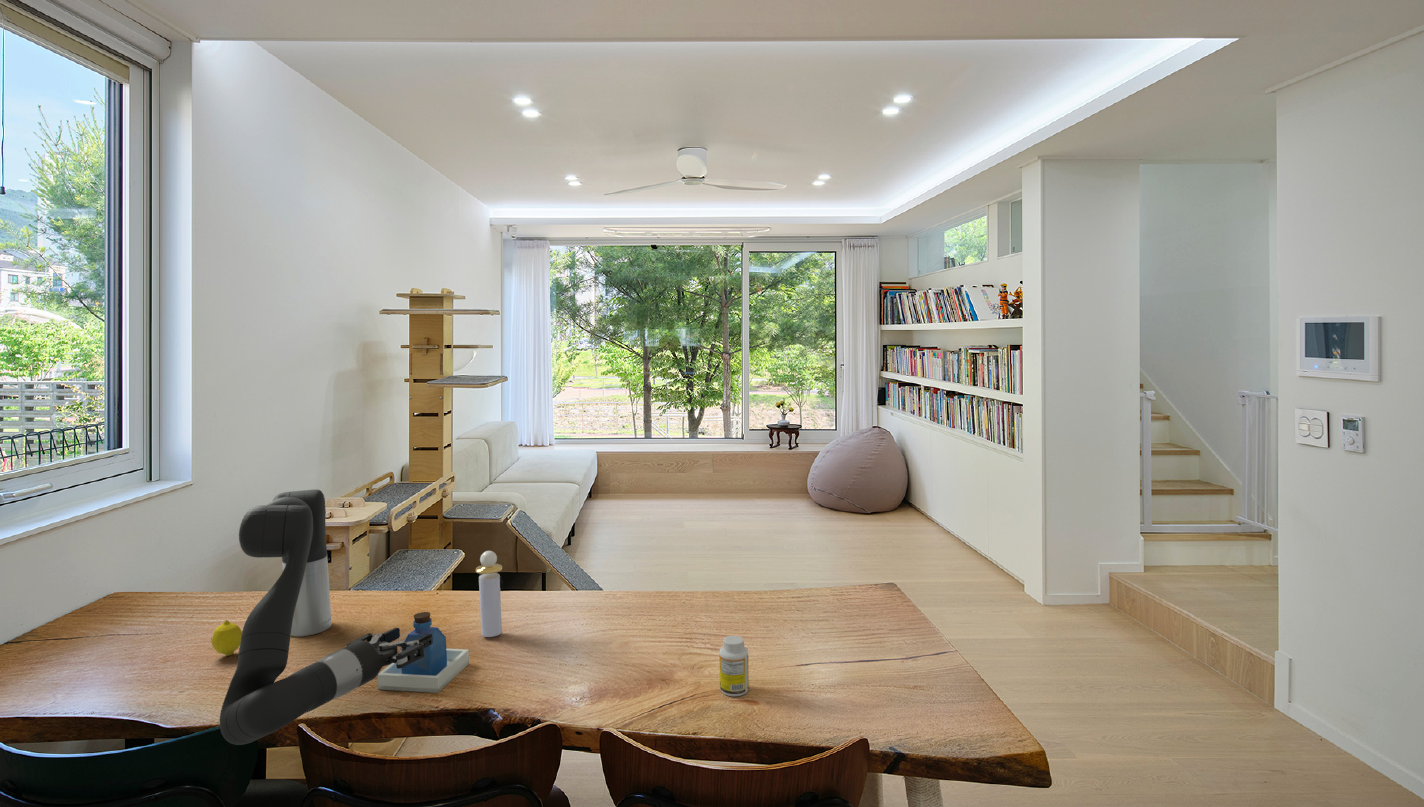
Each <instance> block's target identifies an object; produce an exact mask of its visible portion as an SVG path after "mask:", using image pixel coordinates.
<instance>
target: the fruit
mask: <svg viewBox="0 0 1424 807" xmlns="http://www.w3.org/2000/svg"><path fill="white" fill-rule="evenodd" d="M242 631H243V630H242V629H241V628H240V626H239V625H238V624H237V623H235V622H234V623H233V622H230V621H229V620H227V619H226V620H224V621H223V623H221V624H220V625H218V626H217V627H216V628H214V630H213V633H212V636H211V645H212V647H213V649H214V651H216V652H217V653H219V654H222V655H225V656H232V655H233V654H234V653H235V651H236V650H238V648H240V642H241V636H242Z"/></svg>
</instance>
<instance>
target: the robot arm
mask: <svg viewBox="0 0 1424 807" xmlns="http://www.w3.org/2000/svg"><path fill="white" fill-rule="evenodd" d="M326 528H327V527H326V499H325V495H324V493H323V491H322V490H320V489H307V490H293V491H285V492H284V491H283V492H281V493H279V494H277V495H275V496H274V498H273V500H272V501H270V502H269V503H268V504H264V505H255V506H252V507H251V508H249V510H247V512H246V513H245V514H244V515H243V518H242V519H241V522H240V526H239V529H238V540H239V546H240V548H241V550H242V552H243V553H244V554H245V555H247V556H248V557H251V558H258V559H259V558H261V559H262V558H281V563H282V573H281V574H280V576H279V577H278V579H277V580H276V581H275V583H274V584H273V586H271V587H270V588H269V590H268V592H266V594H264V596H263V597H262V598H261V599H260V600H259V602H257V604H256V605H255V606H254V607H253V609H252V610H251V611H250V613H249V614H248V616H247V618H246V621H245V622H244V624H243V628H242V630H241V631H242V636H241V642H240V646H239V647H238V648H239V649H238V650H239V651H238V656H237V664H236V669H235V672H234V673H233V676H232V678H231V680H230V684H229V685H228V688H227V692H226V694H225V697H224V699H223V702H222V706H221V710H220V714H219V728H220V733H221V735H222V737H223V739H224V740H225V741H227V743H229V744H232V745H236V746H242V745H243V746H244V745H247V744H250V743H253V742H256V741H257V740H259V739H261V738H264V737H267V736H268V735H271V734H273V733H275V732H277V731H279V730H280V729H282V728H284V727H285V726H287V725H289V724H291V723H292V722H294V721H296V720H297V719H298V718H300V717H301V716H303V715H304V714H307V713H309V712H311V711H314V710H316V709H318V708H319V707H321V706H323V705H325V704H327V703H329V702H331V701H332V700H335V699H337V698H338V699H339V698H340V697H343V696H345V695H347V694H349V693H350V692H353V691H354V690H356V689H358V688H360V687H362V686H364V685H366V684H367V683H368V682H370V681H372V680H374V679H376V678H377V675H378V674H379V673H380V672H381V671H382V670H381V669H383V667H387V666H389V665H390V664H392V663H395V664H396V667H397V669H400V668H403V667H405V666H407V665H409V664H411V663H413V662H415V661H417V660H419V659H421V658H423V657H424V649H425V648H426V647H428V646H430V645H432V644H433V636H432V634H426V635H424V636H422V637H420V638H418V639H416V640H415V641H410V642H405V640H400V641H399V638H400V637H401V629H400V627H397V626H396V627H393V628H391V629H389V630H387V631H384V632H383V633H381V632H380V633H379V632H378V633H376V634H375V635H373V633H371V632H368V633H366V634H364V635H362V636H360V637H358V638H357V639H356V638H355V639H354V640H352V641H350V642H348V643H346V644H345V646H344V647H342V648H340V649H337V650H336V651H334V652H331V653H329V654H327V655H325V656H324V657H322V658H320V659H319V660H317V661H316V662H313V663H311V664H309V665H307V666H305V667H303V668H300V669H299V670H297V671H295V672H293V673H291V674H290V675H289V676H287V677H284V678H282V679H279V680H277V679H278V677H279V676H281V674H282V673H283V672H284V671H285V670H286V667H287V664H288V660H289V652H290V651H289V650H290V644H291V637H309V636H313V635H317V634H320V633H322V632H325V631H328V629H330V628H331V627H332V626H333V624H332V623H333V621H332V608H331V606H332V605H331V595H330V592H331V591H330V579H329V577H330V576H329V563H328V561H329V560H328V548H327V547H328V546H327V534H326V533H327V532H326V531H327V530H326ZM396 640H398V641H396ZM394 641H395V642H394ZM409 646H412V647H410V648H408V649H406V648H407V647H409ZM398 647H400V651H399V652H398Z"/></svg>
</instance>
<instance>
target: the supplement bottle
mask: <svg viewBox="0 0 1424 807" xmlns="http://www.w3.org/2000/svg"><path fill="white" fill-rule="evenodd" d="M722 642H723V644H722V647H721V648H720V649H719V653H718V654H719V689H720V691H721V693H722V694H724V695H725V696H729V697H734V698H735V697H740V696H744V695H745V694H746V693H747V692H749V687H750V685H749V684H750V683H749V681H750V680H749V677H750V676H749V672H750V671H749V650H748V648H747V647H746V646H745V639H744V638H743V637H742V636H740V635H728V636H725V637H724V638H723V641H722Z"/></svg>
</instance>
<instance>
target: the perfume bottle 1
mask: <svg viewBox="0 0 1424 807" xmlns="http://www.w3.org/2000/svg"><path fill="white" fill-rule="evenodd" d="M413 619H414V620H413V623H412V624H413V625H412V626H413V630H412V631H411V632H409V633H408V634H407V635H406V638H405V639H404V641H405V642H410V641H415V640H416V639H418V638H420V637H422V636H424V635H426V634H432V636H433V644H432V645H430V646H428V647H426V648H425V649H424V657H423V658H421V659H419V660H417V661H415V662H413V663H411V664H409V665H407V666H405V667H403V668H402V674H412V675H430V676H436V675H437V674H439V673H440V672H441V671H442V670H443V669H444V668H445V667H446V666H447V651H446V648H447V637H446V635H445V634H444V633H443V632H442V631H441V629H439V627H438V626H437V627H436V626H432V624H433V620H432V618H431V612H429V611H421V612H417V613H415V614H414V615H413ZM410 647H412V646H409V647H407V648H406V649H408V648H410Z"/></svg>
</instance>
